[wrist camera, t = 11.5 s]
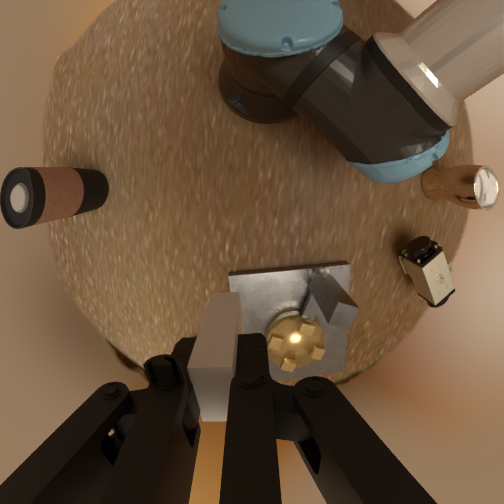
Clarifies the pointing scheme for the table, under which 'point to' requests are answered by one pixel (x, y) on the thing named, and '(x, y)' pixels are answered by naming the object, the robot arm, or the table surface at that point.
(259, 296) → the base plate
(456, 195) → the beer glass
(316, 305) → the metal fixture
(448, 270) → the pneumatic valve
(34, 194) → the travel mug
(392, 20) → the table surface
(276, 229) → the table surface
